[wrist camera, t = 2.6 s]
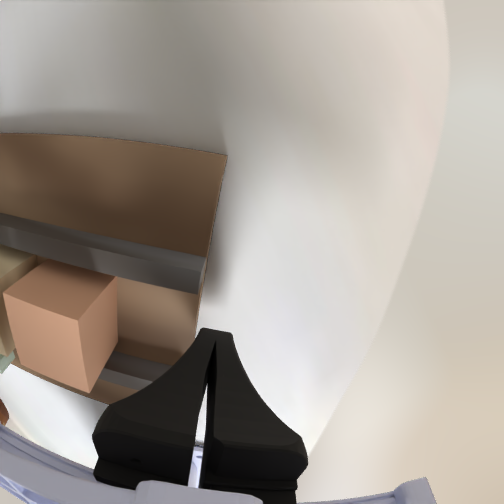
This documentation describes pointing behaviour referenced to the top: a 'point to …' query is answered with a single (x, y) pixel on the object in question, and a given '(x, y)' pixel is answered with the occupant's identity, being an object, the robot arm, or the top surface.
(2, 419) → the food container
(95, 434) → the robot arm
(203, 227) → the groove board
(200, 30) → the top surface
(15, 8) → the top surface
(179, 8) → the top surface
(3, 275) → the birch block
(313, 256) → the top surface
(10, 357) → the tray
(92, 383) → the terracotta block
